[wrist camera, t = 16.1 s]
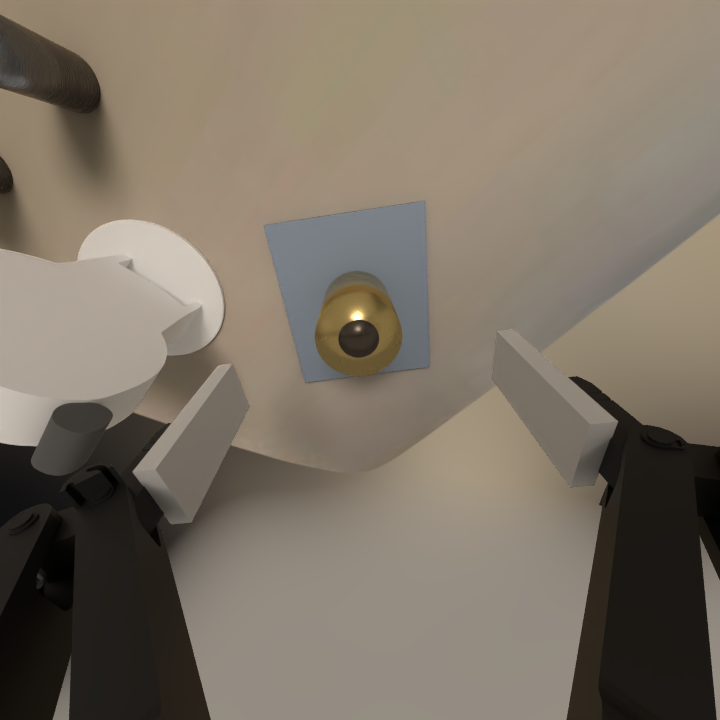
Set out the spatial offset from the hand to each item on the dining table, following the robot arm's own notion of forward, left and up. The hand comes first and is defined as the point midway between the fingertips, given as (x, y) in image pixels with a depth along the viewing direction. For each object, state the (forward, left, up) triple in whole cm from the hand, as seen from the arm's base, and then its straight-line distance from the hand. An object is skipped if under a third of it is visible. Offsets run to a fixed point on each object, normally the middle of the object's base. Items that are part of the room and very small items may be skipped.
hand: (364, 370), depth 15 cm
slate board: (0, 0, -12) cm, 12 cm away
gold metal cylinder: (0, 0, -11) cm, 11 cm away
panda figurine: (+17, -3, -12) cm, 21 cm away
